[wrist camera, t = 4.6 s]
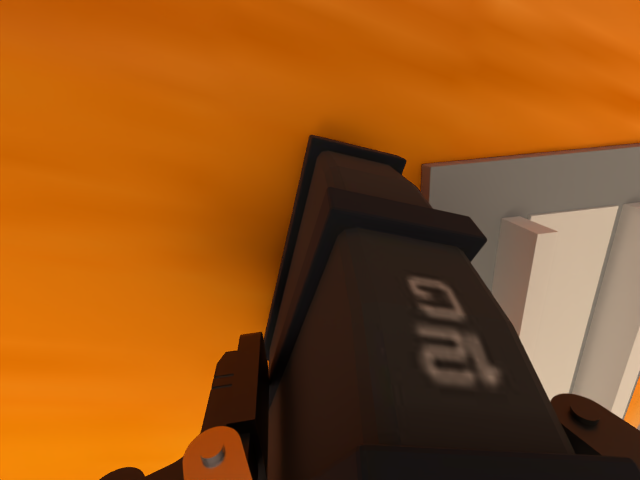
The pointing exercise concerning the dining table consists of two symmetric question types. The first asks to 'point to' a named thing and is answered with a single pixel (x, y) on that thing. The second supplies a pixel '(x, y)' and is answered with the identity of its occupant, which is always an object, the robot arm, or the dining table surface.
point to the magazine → (399, 343)
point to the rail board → (559, 259)
